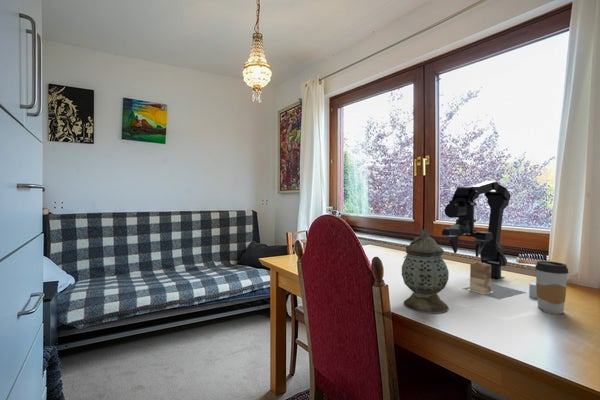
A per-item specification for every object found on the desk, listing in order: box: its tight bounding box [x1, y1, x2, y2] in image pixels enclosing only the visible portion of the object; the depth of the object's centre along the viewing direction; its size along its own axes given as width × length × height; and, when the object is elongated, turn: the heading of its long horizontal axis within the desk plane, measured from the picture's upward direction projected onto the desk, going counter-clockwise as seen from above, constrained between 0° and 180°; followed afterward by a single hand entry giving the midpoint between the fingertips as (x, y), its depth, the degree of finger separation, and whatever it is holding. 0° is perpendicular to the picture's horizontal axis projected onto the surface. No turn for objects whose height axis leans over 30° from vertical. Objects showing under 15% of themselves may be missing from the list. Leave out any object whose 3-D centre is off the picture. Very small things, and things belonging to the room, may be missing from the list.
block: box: [528, 281, 537, 299], centre depth 111 cm, size 5×5×5 cm
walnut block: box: [469, 262, 492, 280], centre depth 118 cm, size 5×5×5 cm
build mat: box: [461, 283, 527, 300], centre depth 118 cm, size 18×14×1 cm
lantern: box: [401, 229, 450, 315], centre depth 101 cm, size 14×14×25 cm
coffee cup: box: [534, 260, 569, 315], centre depth 99 cm, size 8×8×15 cm
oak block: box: [469, 276, 492, 293], centre depth 118 cm, size 5×5×5 cm
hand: (465, 254), depth 127 cm, fingers open, 9 cm apart
